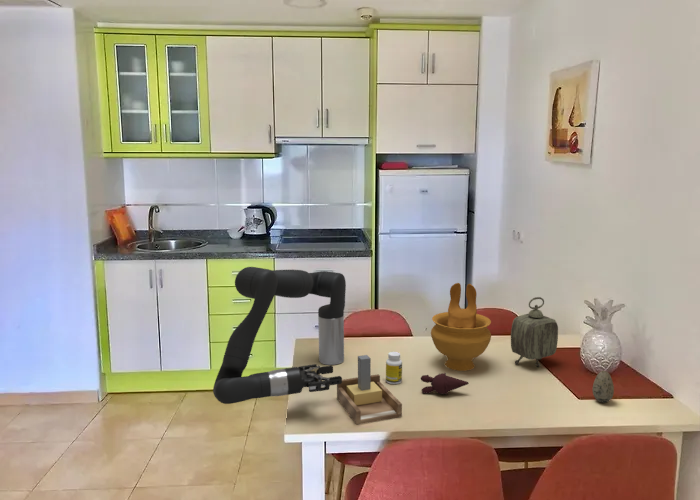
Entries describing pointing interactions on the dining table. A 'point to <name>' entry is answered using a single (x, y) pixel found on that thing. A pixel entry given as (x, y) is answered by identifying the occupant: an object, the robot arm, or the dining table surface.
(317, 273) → the robot arm
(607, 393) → the decorative egg
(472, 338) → the decorative bowl
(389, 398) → the bay
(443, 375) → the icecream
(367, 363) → the block with grey post
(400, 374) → the supplement bottle
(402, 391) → the dining table surface
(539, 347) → the tabletop clock
